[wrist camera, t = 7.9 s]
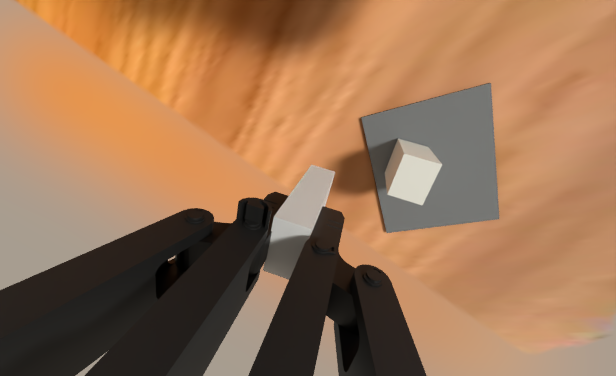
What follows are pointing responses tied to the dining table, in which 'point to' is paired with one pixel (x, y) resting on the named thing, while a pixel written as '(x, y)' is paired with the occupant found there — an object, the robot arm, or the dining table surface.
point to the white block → (411, 171)
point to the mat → (440, 158)
